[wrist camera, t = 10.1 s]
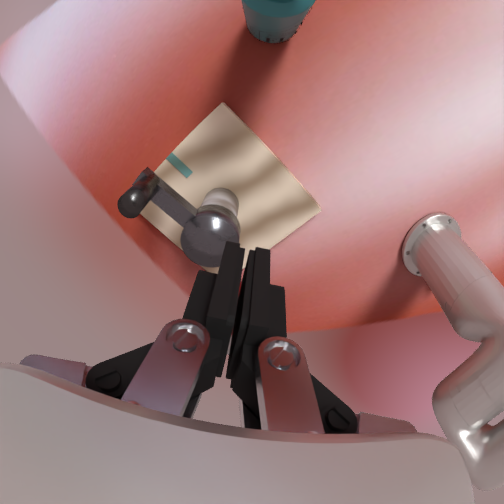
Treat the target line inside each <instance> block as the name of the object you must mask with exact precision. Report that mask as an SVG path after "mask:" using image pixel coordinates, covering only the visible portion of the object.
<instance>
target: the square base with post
mask: <svg viewBox="0 0 504 504" xmlns="http://www.w3.org/2000/svg"><path fill="white" fill-rule="evenodd" d="M154 173H155V174H156V175H157V176H159V177H160V178H161V179H162V180H163V181H165V182H166V183H167V184H168V185H169V186H170V187H172V188H173V189H174V190H175V191H176V192H177V193H179V194H180V195H181V196H182V197H183V198H184V199H186V200H187V201H188V202H189V203H190V204H191V205H193V206H194V207H195V208H196V209H197V208H199V207H201V206H203V205H208V204H216V205H220V206H223V207H226V208H227V209H229V210H230V211H232V212H233V213H234V214H235V216H236V217H237V219H238V221H239V223H240V228H241V232H240V240H239V243H240V247H241V248H245V254H244V261H243V267H242V269H243V268H245V266H246V262H247V258H248V254H249V250H255V248H256V247H260V248H264V249H270V248H272V247H273V246H274V245H276V244H277V243H279V242H280V241H281V240H283V239H284V238H285V237H287V236H288V235H289V234H291V233H292V232H293V231H295V230H296V229H297V228H299V227H300V226H301V225H303V224H304V223H305V222H307V221H308V220H309V219H311V218H312V217H313V216H315V215H316V214H318V213H319V212H320V211H322V210H321V207H320V206H319V204H318V203H317V202H316V201H315V200H314V198H313V197H312V196H311V195H310V194H309V193H308V191H307V190H306V189H305V188H304V187H303V186H302V184H301V183H300V182H299V181H298V180H297V179H296V178H295V176H294V175H293V174H292V173H291V172H290V171H289V170H288V169H287V167H286V166H285V165H284V164H283V163H282V162H281V161H280V160H279V159H278V158H277V156H276V155H275V154H274V153H273V152H272V151H271V150H270V149H269V148H268V147H267V146H266V145H265V144H264V142H263V141H262V140H261V139H260V138H259V137H258V136H257V135H256V134H255V133H254V132H253V131H252V130H251V129H250V128H249V127H248V126H247V125H246V124H245V123H244V122H243V121H242V120H241V119H240V118H239V117H238V116H237V115H236V114H235V113H234V112H233V111H232V110H231V109H230V108H229V107H228V106H227V105H226V104H225V103H224V102H222V103H221V104H220V105H219V106H218V107H217V108H216V109H215V110H214V111H212V112H211V113H210V114H209V115H208V116H207V117H206V118H205V119H204V120H203V121H202V122H201V123H200V124H199V125H198V126H197V127H196V128H195V129H194V130H193V131H192V132H191V133H190V134H189V135H188V136H187V137H186V138H185V139H184V140H183V141H182V142H181V143H180V144H179V145H178V146H177V147H176V149H175V150H174V151H173V152H172V153H171V154H170V155H169V156H168V157H167V158H166V159H165V160H164V162H163V163H162V164H161V165H160V166H159V167H158V168H157V169H156V170H155V172H154ZM140 214H141V215H142V216H144V217H145V218H146V219H147V220H148V221H149V222H150V223H151V224H153V225H154V226H155V227H156V228H157V229H158V230H159V231H161V232H162V233H163V234H164V235H165V236H166V237H167V238H169V239H170V240H171V241H172V242H173V243H174V244H175V245H177V246H178V247H179V248H180V249H181V250H182V251H183V249H182V247H181V242H180V238H181V233H182V230H183V227H182V226H181V225H179V224H178V223H177V222H176V221H175V220H173V219H172V218H171V217H170V216H169V215H167V214H166V213H165V212H164V211H163V210H161V209H160V208H159V207H158V206H157V205H155V204H154V203H153V202H152V201H151V200H150V202H149V203H148V204H147V205H146V206H145V208H144V209H143V210H142V211H141V213H140ZM200 266H201V265H200ZM201 267H202V268H204V269H205V270H206V271H207V272H211V273H216V274H218V270H219V267H212V268H211V267H204V266H201Z"/></svg>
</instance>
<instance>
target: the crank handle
mask: <svg viewBox="0 0 504 504" xmlns="http://www.w3.org/2000/svg"><path fill="white" fill-rule="evenodd" d="M132 185H133V186H132V187H131V188H130V189H129V190H127V191H126V192H125V193H124V194H123V195H122V196H121V197H120V198H119V200H118V209H119V211H120V213H121V214H122V215H123V216H125V217H127V218H135V217H137V216H138V215H139V214H140V213H141V211H142V210H143V209H144V208H145V206H146V205H147V204H148V203H149V202H150V200H151V201H152V202H153V203H154V204H155V205H157V206H158V207H159V208H160V209H161V210H163V211H164V212H165V213H166V214H167V215H169V216H170V217H171V218H172V219H173V220H175V221H176V222H177V223H178V224H179V225H181V226H182V227H183V230H182V233H181V238H180V242H181V247H182V249H183V251H184V253H185V255H186V256H187V257H188V258H189V259H190V260H191V261H193V262H194V263H196V264H198V265H201V266H204V267H211V268H212V267H220V263H221V259H222V255H223V251H224V248H225V244H226V241H230V242H235V243H239V240H240V232H241V228H240V223H239V221H238V219H237V217H236V216H235V214H234V213H233V212H232V211H230V210H229V209H227V208H226V207H223V206H220V205H216V204H208V205H203V206H201V207H199V208H197V209H196V208H195V207H194V206H193V205H191V204H190V203H189V202H188V201H187V200H186V199H184V198H183V197H182V196H181V195H180V194H179V193H177V192H176V191H175V190H174V189H173V188H172V187H170V186H169V185H168V184H167V183H166V182H165V181H163V180H162V179H161V178H160V177H159V176H157V175H156V174H155V173H154V172H153V171H152V170H150V169H149V168H148V167H147V168H146V169H145V170H143V171H142V172H141V174H140V175H139V176H138V178H137V179H136V180H135V182H134V183H133V184H132Z"/></svg>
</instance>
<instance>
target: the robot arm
mask: <svg viewBox="0 0 504 504" xmlns="http://www.w3.org/2000/svg"><path fill="white" fill-rule="evenodd" d="M244 254H245V248H241V247H240V243H235V242H230V241H226V244H225V248H224V251H223V255H222V259H221V263H220V267H219V270H218V274H216V273H211V272H207V271H202V270H199V272H198V274H197V277H196V280H195V283H194V286H193V289H192V291H191V294H190V297H189V300H188V303H187V306H186V309H185V312H184V315H183V318H182V319H177V320H173V321H171V322H169V323H168V324H166V325H165V326H164V328H163V329H162V330H161V332H160V334H159V335H158V337H157V339H156V340H155V342H153V343H150V344H148V345H145V346H143V347H140V348H137V349H135V350H133V351H130V352H127V353H125V354H122V355H119V356H117V357H115V358H112V359H109V360H106V361H104V362H101V363H99V364H97V365H95V366H93V367H91V366H87V365H86V363H83V362H76V361H70V360H63V359H58V358H52V357H47V356H42V355H29V356H27V357H25V358H24V359H23V360H22V361H21V362H20V364H14V363H0V504H475V500H474V495H473V490H472V484H473V485H474V486H475V487H476V488H477V489H479V490H482V491H491V490H494V489H497V488H499V487H501V486H503V485H504V419H503V420H502V421H500V422H499V423H498V424H496V425H494V426H491V425H489V424H488V422H489V421H491V420H492V419H493V418H495V417H496V416H497V415H499V414H500V413H501V412H503V411H504V287H503V286H502V285H501V283H500V282H499V281H498V280H497V278H496V277H495V276H494V275H493V274H492V272H491V271H490V270H489V269H488V268H487V266H486V265H485V264H484V263H483V262H482V261H481V260H480V258H479V257H478V256H477V255H476V254H475V253H474V252H473V251H472V249H471V248H470V247H469V246H468V245H467V244H466V243H465V242H464V241H463V240H462V239H461V230H460V227H459V225H458V223H457V222H456V220H455V219H454V218H452V217H451V216H450V215H448V214H445V213H433V214H430V215H428V216H426V217H424V218H422V219H421V220H419V221H418V222H417V223H416V224H415V225H414V226H413V227H412V228H411V230H410V231H409V233H408V234H407V236H406V238H405V240H404V243H403V247H402V259H403V262H404V264H405V266H406V268H407V269H408V270H409V271H410V272H411V273H412V274H414V275H417V276H422V277H423V278H424V280H425V281H426V283H427V285H428V286H429V288H430V289H431V291H432V293H433V294H434V296H435V298H436V299H437V301H438V303H439V304H440V306H441V308H442V309H443V311H444V313H445V315H446V316H447V318H448V320H449V322H450V324H451V325H452V327H453V329H454V330H455V331H456V333H457V334H458V335H459V336H461V337H462V338H464V339H467V340H470V341H475V342H481V345H480V346H479V348H478V349H477V350H476V351H475V352H474V353H473V354H472V355H471V356H470V357H469V358H468V359H467V360H465V361H464V362H463V363H462V364H461V365H460V366H459V367H457V368H456V369H455V370H454V371H453V372H451V373H450V374H449V375H448V376H447V377H445V378H444V379H443V380H442V381H441V382H440V383H439V384H438V385H437V387H436V389H435V390H434V392H433V396H432V405H433V410H434V413H435V416H436V418H437V420H438V422H439V424H440V426H441V428H442V430H443V432H444V434H445V436H446V437H447V439H448V440H447V439H444V438H442V437H439V436H435V435H432V434H427V433H419V432H417V430H416V429H415V427H414V426H413V425H412V424H411V423H410V422H407V421H404V420H398V419H393V418H388V417H382V416H378V415H373V414H368V413H364V412H360V413H359V414H355V413H354V412H353V411H352V410H351V409H350V408H349V407H348V406H347V405H346V404H345V403H344V402H342V401H341V400H340V399H339V398H338V397H337V396H335V395H334V394H333V393H332V392H331V391H330V390H328V389H327V388H326V387H325V386H324V385H323V384H322V383H321V382H319V381H318V380H317V379H316V378H315V377H314V376H313V375H311V374H310V372H309V368H308V364H307V360H306V357H305V354H304V351H303V349H302V348H301V347H300V346H299V345H298V344H297V343H296V342H294V341H293V340H291V339H288V338H287V333H286V308H285V290H284V287H281V286H276V285H271V284H270V250H269V249H264V248H260V247H256V248H255V250H249V254H248V258H247V262H246V266H245V271H244V275H243V279H242V283H241V288H240V281H241V274H242V267H243V261H244ZM239 288H240V292H239ZM238 295H239V296H238ZM232 330H233V331H232ZM231 334H232V338H231ZM230 338H231V345H230V352H229V359H228V366H227V373H226V378H227V379H231V386H230V387H231V388H233V389H232V390H233V391H234V392H235V393H236V394H237V396H239V398H240V400H239V409H240V421H241V427H235V426H228V425H222V424H216V423H210V422H205V421H200V420H195V419H193V416H194V413H195V411H196V408H197V406H198V403H199V401H200V398H201V395H202V392H204V391H206V390H208V389H210V388H212V387H213V386H214V381H215V377H221V375H222V371H223V367H224V363H225V359H226V355H227V351H228V347H229V343H230ZM471 483H472V484H471Z"/></svg>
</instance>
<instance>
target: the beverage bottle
mask: <svg viewBox="0 0 504 504" xmlns="http://www.w3.org/2000/svg"><path fill="white" fill-rule="evenodd" d="M314 2H315V0H242V4H243V8H244V13H245V18H246V23H247V28H248V29H249V31H250V34H252V36H253V35H254V36H255V38H257V40H258V39H259V41H260V40H261V41H264V43H265V42H268V43H277V44H278V43H279V42H282V43H283V41H285V40H286V41H288V40H289V39H290V37H292V36H293V35H294V33H295V34H296V32H297V31H296V30H297V28H298V27H299V25H300V24H301V25H302V23H303V22H302V21H303V19H304V17H305V16H306V14H307V13H308V11H309V9H310V7H311V8H312V7H313V6H312V5H313V4H314ZM309 12H310V11H309ZM301 25H300V26H301Z"/></svg>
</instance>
